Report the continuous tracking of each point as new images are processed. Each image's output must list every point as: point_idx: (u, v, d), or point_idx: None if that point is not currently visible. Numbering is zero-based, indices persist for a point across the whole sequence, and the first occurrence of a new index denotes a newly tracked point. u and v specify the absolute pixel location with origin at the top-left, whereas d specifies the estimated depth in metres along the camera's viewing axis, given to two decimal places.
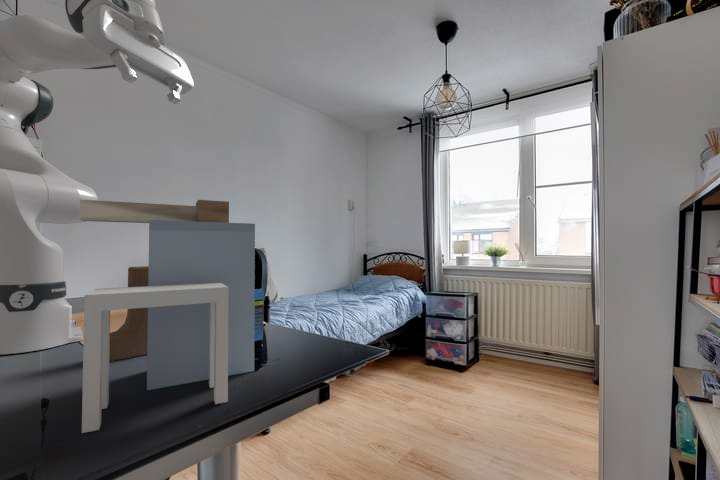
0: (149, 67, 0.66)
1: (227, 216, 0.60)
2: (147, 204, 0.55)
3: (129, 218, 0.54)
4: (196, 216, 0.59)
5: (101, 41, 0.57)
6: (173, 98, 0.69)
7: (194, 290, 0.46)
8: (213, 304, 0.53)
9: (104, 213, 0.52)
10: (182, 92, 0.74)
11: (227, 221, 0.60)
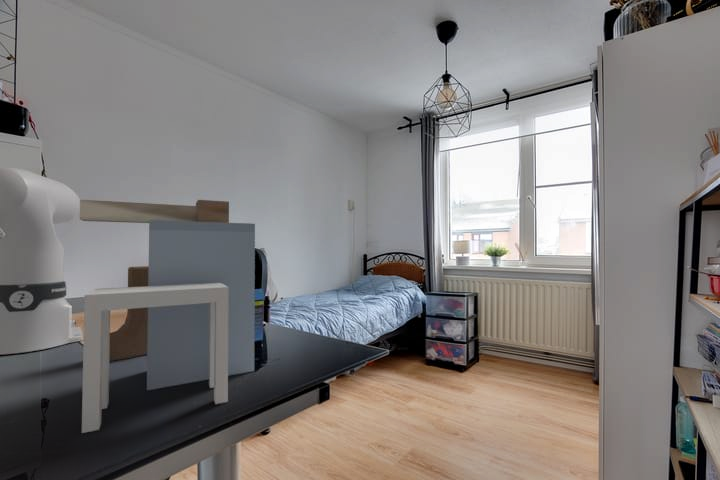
0: None
1: (227, 216, 0.60)
2: (147, 204, 0.55)
3: (129, 218, 0.54)
4: (196, 216, 0.59)
5: None
6: None
7: (194, 290, 0.46)
8: (213, 304, 0.53)
9: (104, 213, 0.52)
10: None
11: (227, 221, 0.60)
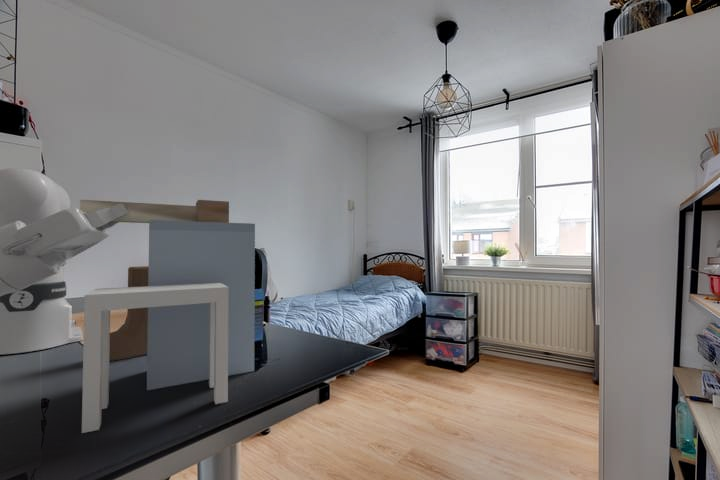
0: None
1: (227, 216, 0.60)
2: (147, 204, 0.55)
3: (129, 218, 0.54)
4: (196, 216, 0.59)
5: (106, 229, 0.61)
6: None
7: (194, 290, 0.46)
8: (213, 304, 0.53)
9: None
10: (79, 212, 0.45)
11: (227, 221, 0.60)
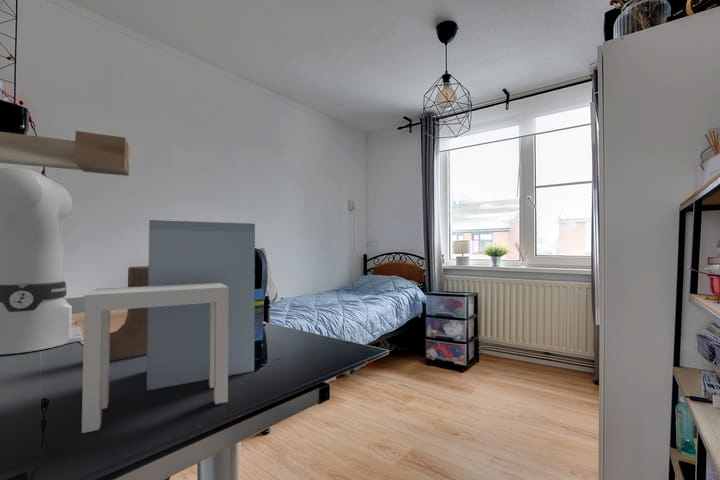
0: None
1: (122, 157, 0.43)
2: None
3: None
4: None
5: None
6: None
7: (194, 290, 0.46)
8: (213, 304, 0.53)
9: None
10: None
11: (122, 164, 0.43)
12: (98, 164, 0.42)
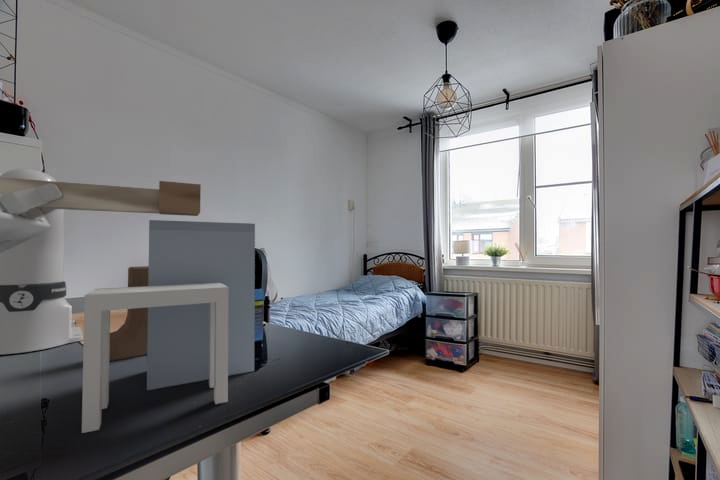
0: None
1: (198, 203, 0.47)
2: (90, 185, 0.42)
3: (65, 203, 0.41)
4: (157, 202, 0.46)
5: (46, 220, 0.48)
6: None
7: (194, 290, 0.46)
8: (213, 304, 0.53)
9: None
10: None
11: (198, 209, 0.47)
12: (178, 210, 0.46)
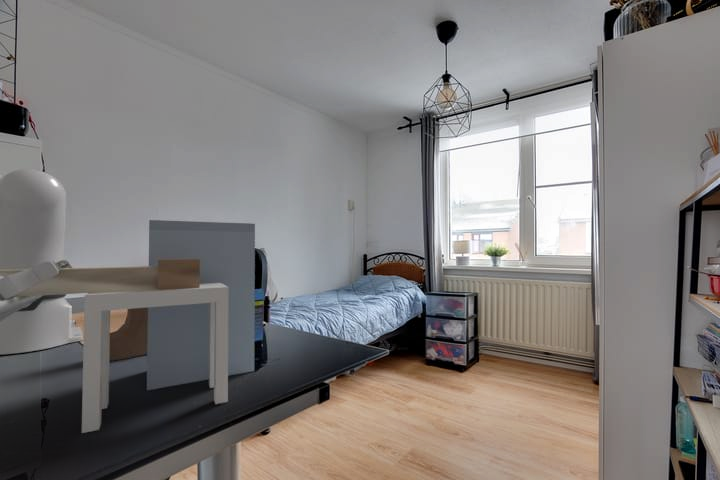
0: None
1: (197, 278, 0.47)
2: (89, 270, 0.42)
3: (63, 290, 0.41)
4: (156, 280, 0.45)
5: None
6: None
7: (194, 290, 0.46)
8: (213, 304, 0.53)
9: None
10: None
11: (197, 284, 0.47)
12: (177, 287, 0.46)
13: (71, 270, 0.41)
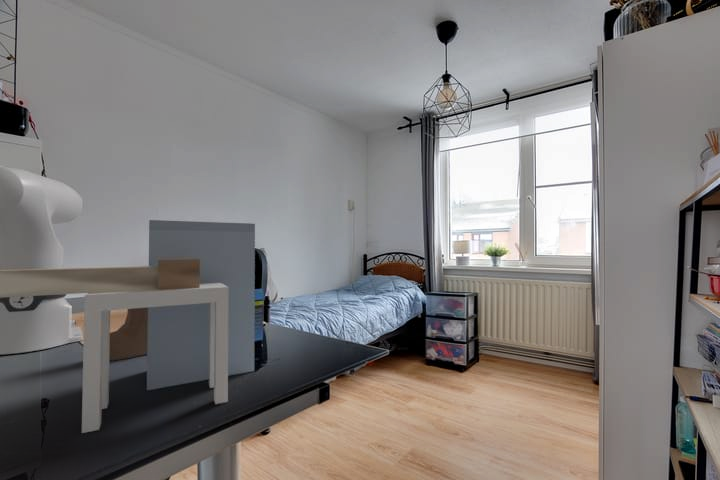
0: None
1: (197, 278, 0.47)
2: (89, 270, 0.42)
3: (63, 290, 0.41)
4: (156, 280, 0.45)
5: None
6: None
7: (194, 290, 0.46)
8: (213, 304, 0.53)
9: (27, 287, 0.39)
10: None
11: (197, 284, 0.47)
12: (177, 287, 0.46)
13: (71, 270, 0.41)
